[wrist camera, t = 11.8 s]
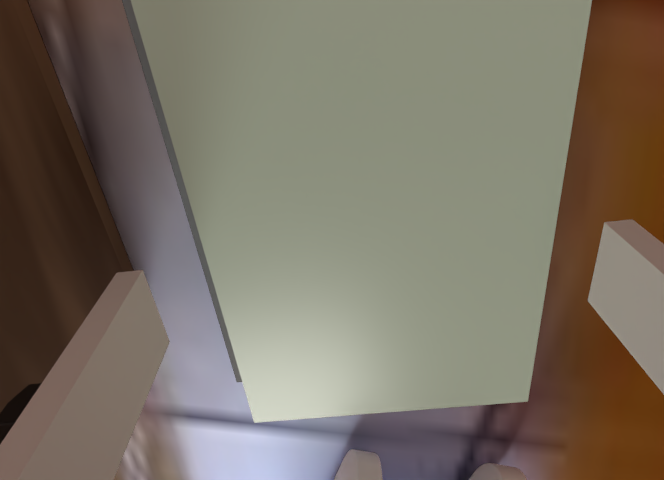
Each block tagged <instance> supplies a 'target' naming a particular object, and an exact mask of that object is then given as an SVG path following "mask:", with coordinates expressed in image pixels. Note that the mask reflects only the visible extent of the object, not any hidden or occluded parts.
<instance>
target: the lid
mask: <svg viewBox="0 0 664 480" xmlns="http://www.w3.org/2000/svg"><path fill="white" fill-rule="evenodd" d="M131 3H132V7H133V10H134V13H135V17H136V20H137V24H138V27H139V31H140V34H141V37H142V41H143V44H144V48H145V51H146V54H147V58H148V61H149V65H150V68H151V72H152V75H153V78H154V82H155V85H156V89H157V92H158V95H159V99H160V102H161V106H162V109H163V113H164V116H165V119H166V123H167V126H168V130H169V133H170V136H171V140H172V143H173V147H174V150H175V154H176V157H177V160H178V164H179V167H180V171H181V174H182V177H183V181H184V184H185V188H186V191H187V195H188V198H189V201H190V205H191V208H192V212H193V215H194V218H195V222H196V225H197V229H198V232H199V236H200V239H201V242H202V246H203V249H204V253H205V256H206V259H207V263H208V266H209V270H210V273H211V277H212V280H213V283H214V287H215V290H216V294H217V297H218V300H219V304H220V307H221V311H222V314H223V318H224V321H225V324H226V328H227V331H228V335H229V338H230V341H231V345H232V348H233V352H234V355H235V359H236V362H237V365H238V369H239V372H240V376H241V379H242V382H243V386H244V389H245V393H246V396H247V400H248V403H249V406H250V410H251V413H252V417H253V420H254V423H256V422H269V421H282V420H295V419H308V418H321V417H334V416H347V415H360V414H373V413H386V412H399V411H412V410H425V409H438V408H451V407H464V406H477V405H490V404H503V403H516V402H528V398H529V391H530V385H531V379H532V373H533V366H534V360H535V354H536V348H537V341H538V335H539V329H540V323H541V316H542V310H543V304H544V298H545V291H546V285H547V279H548V273H549V266H550V260H551V254H552V248H553V241H554V235H555V229H556V223H557V216H558V210H559V204H560V198H561V191H562V185H563V179H564V173H565V166H566V160H567V154H568V148H569V141H570V135H571V129H572V123H573V116H574V110H575V104H576V98H577V91H578V85H579V79H580V73H581V66H582V60H583V54H584V48H585V41H586V35H587V29H588V23H589V16H590V10H591V4H592V0H131Z"/></svg>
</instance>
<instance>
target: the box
mask: <svg viewBox="0 0 664 480" xmlns="http://www.w3.org/2000/svg"><path fill="white" fill-rule="evenodd" d="M127 271H133V268H132V266H131V263H130V261H129V258H128V256H127V253H126V251H125V248H124V245H123V243H122V240H121V238H120V235H119V233H118V230H117V228H116V225H115V223H114V220H113V218H112V215H111V213H110V210H109V207H108V205H107V202H106V200H105V197H104V195H103V192H102V190H101V187H100V185H99V182H98V180H97V177H96V175H95V172H94V169H93V167H92V164H91V162H90V159H89V157H88V154H87V152H86V149H85V147H84V144H83V142H82V139H81V137H80V134H79V131H78V129H77V126H76V124H75V121H74V119H73V116H72V114H71V111H70V109H69V106H68V104H67V101H66V99H65V96H64V93H63V91H62V88H61V86H60V83H59V81H58V78H57V76H56V73H55V71H54V68H53V66H52V63H51V60H50V58H49V55H48V53H47V50H46V48H45V45H44V43H43V40H42V38H41V35H40V33H39V30H38V28H37V25H36V22H35V20H34V17H33V15H32V12H31V10H30V7H29V5H28V2H27V0H0V413H1V412H2V410H3V409H4V407H5V406H6V405H7V403H8V402H9V401H11V400H12V399H13V398H14V397H15V396H16V395H17V394H19V393H20V392H21V391H22V390H23V389H24V388H26V387H27V386H28V385H29V384H37V383H42V382H43V381H44V379H45V378H46V376H47V375H48V373H49V372H50V370H51V369H52V367H53V366H54V364H55V363H56V362H57V360H58V359H59V357H60V356H61V354H62V353H63V351H64V350H65V348H66V347H67V345H68V344H69V342H70V341H71V339H72V338H73V336H74V335H75V333H76V332H77V330H78V329H79V328H80V326H81V325H82V323H83V322H84V320H85V319H86V317H87V316H88V314H89V313H90V311H91V310H92V308H93V307H94V305H95V304H96V302H97V301H98V299H99V298H100V297H101V295H102V294H103V292H104V291H105V289H106V288H107V286H108V285H109V283H110V282H111V280H112V279H113V277H114V276H115V274H116V273H118V272H127Z"/></svg>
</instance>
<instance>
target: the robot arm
mask: <svg viewBox="0 0 664 480" xmlns="http://www.w3.org/2000/svg"><path fill="white" fill-rule="evenodd" d="M588 302H589V303H590V304H591V306H592V307H593V308H594V309H595V311H596V312H597V313H598V314H599V315H600V317H601V318H602V319H603V320H604V322H605V323H606V324H607V325H608V326H609V328H610V329H611V330H612V331H613V333H614V334H615V335H616V336H617V338H618V339H619V340H620V341H621V342H622V344H623V345H624V346H625V347H626V349H627V350H628V351H629V352H630V354H631V355H632V356H633V357H634V358H635V360H636V361H637V362H638V363H639V365H640V366H641V367H642V368H643V369H644V371H645V372H646V373H647V374H648V376H649V377H650V378H651V379H652V381H653V382H654V383H655V384H656V385H657V387H658V388H659V389H660V390H661V392H662V393H663V394H664V244H663V243H662V242H660V241H659V240H658V239H656V238H655V237H654V236H653V235H651V234H650V233H649V232H648V231H646V230H645V229H644V228H643V227H641V226H640V225H639V224H638V223H636V222H635V221H634V220H622V221H612V222H604V227H603V231H602V236H601V241H600V245H599V250H598V255H597V260H596V264H595V269H594V274H593V278H592V283H591V288H590V292H589V297H588ZM169 342H170V341H169V339H168V336H167V333H166V331H165V328H164V325H163V323H162V320H161V317H160V315H159V312H158V309H157V307H156V304H155V301H154V299H153V296H152V293H151V291H150V288H149V285H148V283H147V280H146V277H145V275H144V272H143V270H137V271H127V272H118V273H116V274H115V276H114V277H113V279H112V280H111V282H110V283H109V285H108V286H107V288H106V289H105V291H104V292H103V294H102V295H101V297H100V298H99V299H98V301H97V302H96V304H95V305H94V307H93V308H92V310H91V311H90V313H89V314H88V316H87V317H86V319H85V320H84V322H83V323H82V325H81V326H80V328H79V329H78V330H77V332H76V333H75V335H74V336H73V338H72V339H71V341H70V342H69V344H68V345H67V347H66V348H65V350H64V351H63V353H62V354H61V356H60V357H59V359H58V360H57V362H56V363H55V364H54V366H53V367H52V369H51V370H50V372H49V373H48V375H47V376H46V378H45V379H44V381H43V382H42V383H37V384H29V385H28V386H27V387H26V388H24V389H23V390H22V391H21V392H20V393H19V394H17V395H16V396H15V397H14V398H13V399H12V400H11V401H9V402H8V403H7V405H6V406H5V407H4V409H3V410H2V412H1V413H0V480H113V479H114V477H115V475H116V472H117V470H118V467H119V465H120V462H121V460H122V457H123V455H124V452H125V450H126V448H127V445H128V443H129V440H130V438H131V435H132V433H133V430H134V428H135V425H136V423H137V421H138V418H139V416H140V413H141V411H142V408H143V406H144V403H145V401H146V398H147V396H148V394H149V391H150V389H151V386H152V384H153V381H154V379H155V376H156V374H157V371H158V369H159V367H160V364H161V362H162V359H163V357H164V354H165V352H166V349H167V347H168V344H169Z"/></svg>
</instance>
